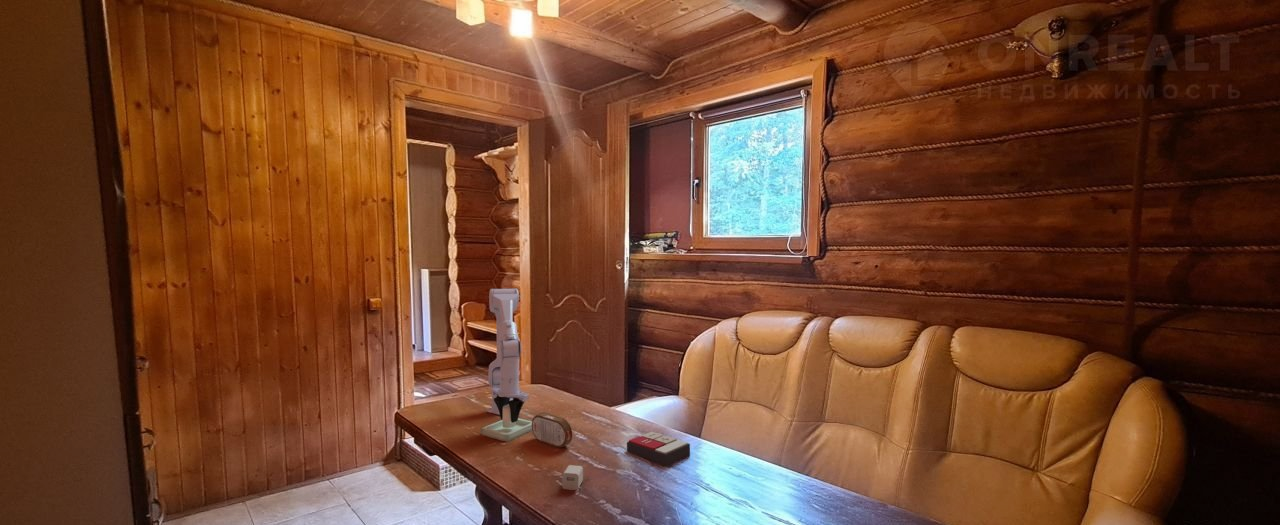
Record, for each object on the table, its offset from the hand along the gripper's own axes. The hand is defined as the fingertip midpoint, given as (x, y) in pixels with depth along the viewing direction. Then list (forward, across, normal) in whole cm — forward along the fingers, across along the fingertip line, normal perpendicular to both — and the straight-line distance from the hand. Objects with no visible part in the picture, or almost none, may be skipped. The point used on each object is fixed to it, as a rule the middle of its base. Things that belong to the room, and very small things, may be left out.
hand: (509, 420), depth 154 cm
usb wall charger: (+4, +39, -17) cm, 42 cm away
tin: (+4, +18, 0) cm, 18 cm away
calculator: (+4, +48, +10) cm, 49 cm away
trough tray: (+4, 0, 0) cm, 4 cm away
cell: (+2, 0, 0) cm, 2 cm away
